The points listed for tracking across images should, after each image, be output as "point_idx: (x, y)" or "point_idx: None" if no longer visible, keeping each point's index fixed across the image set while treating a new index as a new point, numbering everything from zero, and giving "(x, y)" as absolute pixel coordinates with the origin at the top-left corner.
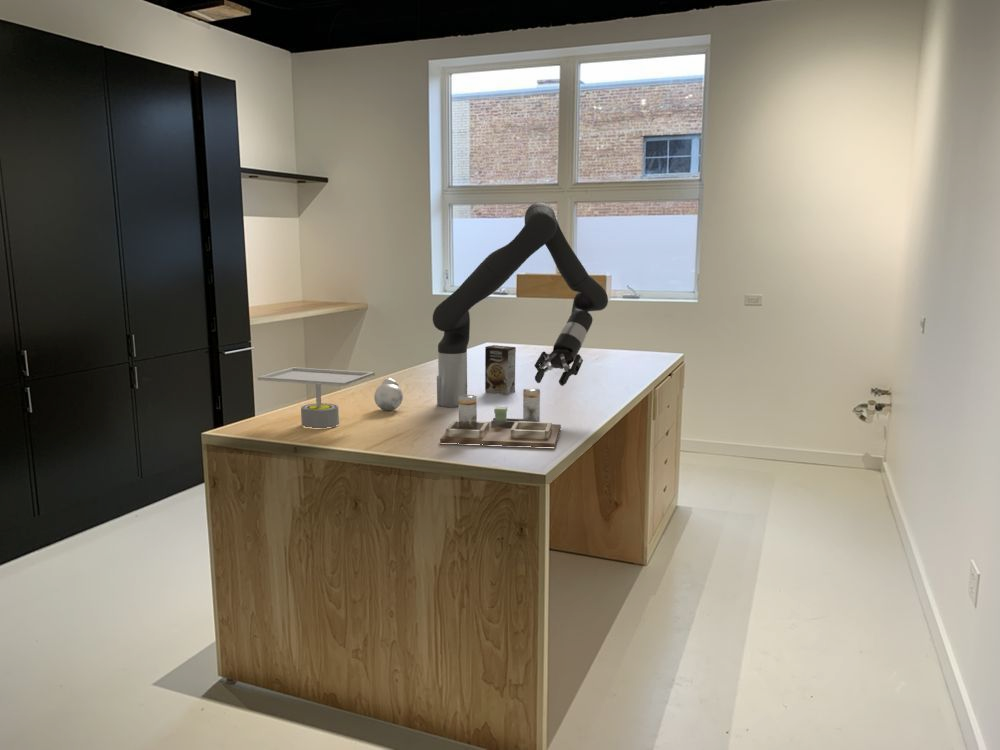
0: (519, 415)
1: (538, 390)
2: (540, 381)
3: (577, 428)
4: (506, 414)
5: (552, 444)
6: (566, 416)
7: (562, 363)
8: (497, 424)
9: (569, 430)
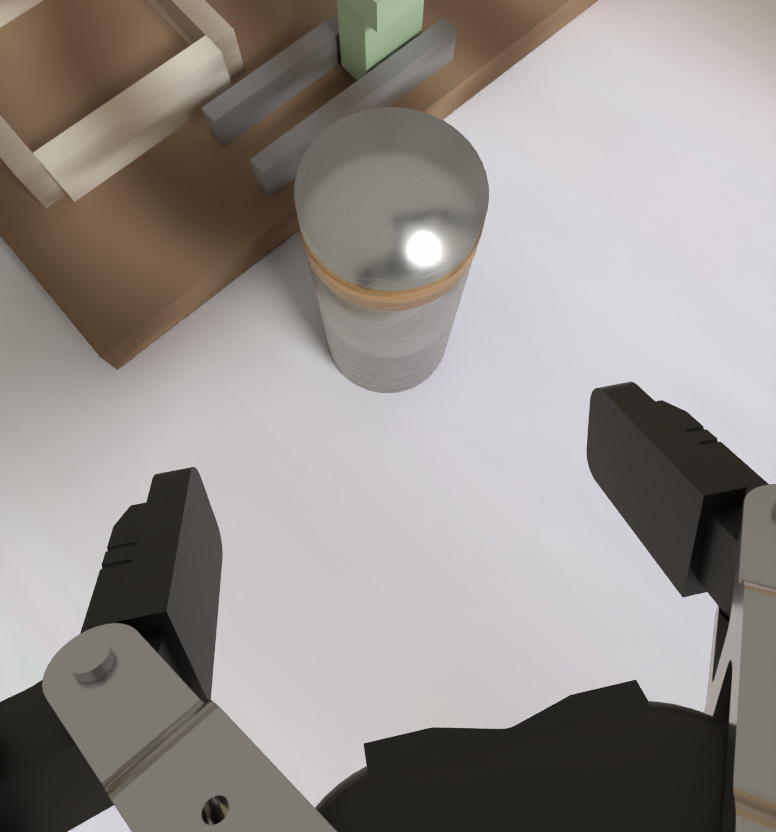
0: None
1: (307, 219)
2: (603, 486)
3: (54, 489)
4: (362, 34)
5: None
6: (379, 710)
7: (237, 738)
8: None
9: (61, 404)
